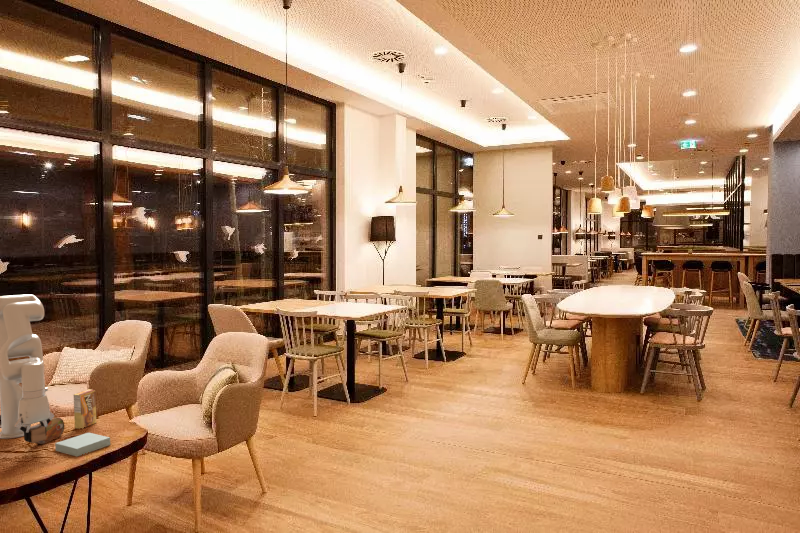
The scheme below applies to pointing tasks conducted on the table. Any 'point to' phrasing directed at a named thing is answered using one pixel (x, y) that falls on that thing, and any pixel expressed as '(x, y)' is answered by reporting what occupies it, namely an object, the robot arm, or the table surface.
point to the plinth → (82, 444)
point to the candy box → (84, 408)
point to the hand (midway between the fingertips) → (35, 438)
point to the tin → (53, 430)
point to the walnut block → (37, 433)
